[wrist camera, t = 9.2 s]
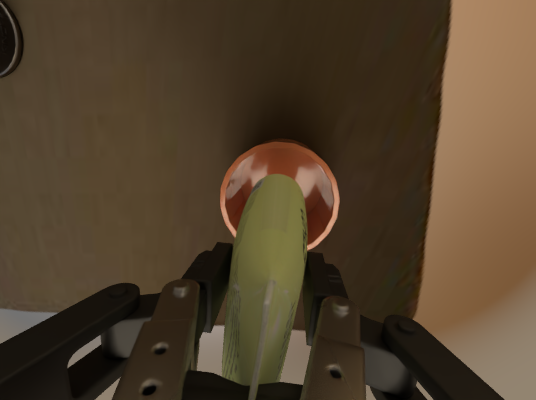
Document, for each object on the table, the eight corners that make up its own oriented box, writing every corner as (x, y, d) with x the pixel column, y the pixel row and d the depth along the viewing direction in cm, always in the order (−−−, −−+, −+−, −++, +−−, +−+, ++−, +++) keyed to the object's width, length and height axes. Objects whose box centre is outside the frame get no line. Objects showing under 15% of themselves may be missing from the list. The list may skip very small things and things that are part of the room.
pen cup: (236, 220, 35) (218, 250, 26) (240, 135, 32) (221, 137, 23) (319, 229, 34) (330, 262, 26) (331, 142, 31) (348, 147, 23)
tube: (317, 213, 24) (413, 500, 6) (271, 239, 25) (222, 554, 7) (285, 161, 23) (269, 299, 5) (238, 190, 24) (70, 401, 6)
